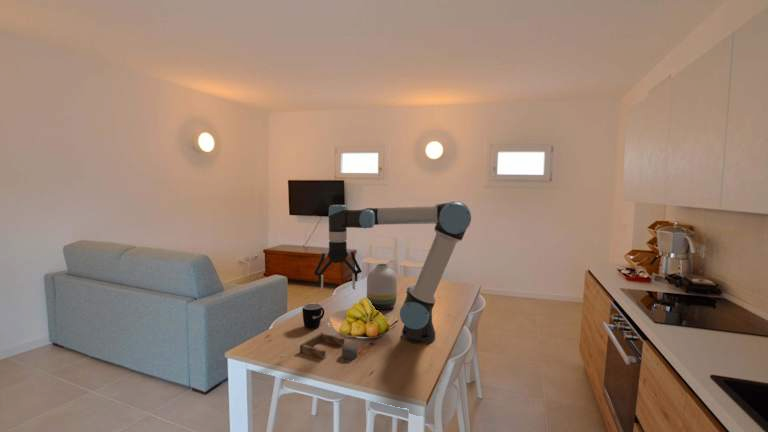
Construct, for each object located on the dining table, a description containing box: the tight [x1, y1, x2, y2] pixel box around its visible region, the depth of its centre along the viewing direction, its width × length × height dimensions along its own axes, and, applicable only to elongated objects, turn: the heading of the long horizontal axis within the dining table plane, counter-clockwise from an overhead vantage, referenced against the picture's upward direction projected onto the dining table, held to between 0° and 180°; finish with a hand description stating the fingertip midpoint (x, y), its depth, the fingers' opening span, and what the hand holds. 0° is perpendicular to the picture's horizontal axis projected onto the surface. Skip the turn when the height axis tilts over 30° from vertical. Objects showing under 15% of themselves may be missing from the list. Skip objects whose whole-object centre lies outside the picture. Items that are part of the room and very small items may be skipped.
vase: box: [366, 263, 398, 310], centre depth 202 cm, size 17×17×24 cm
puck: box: [341, 344, 358, 361], centre depth 143 cm, size 6×6×4 cm
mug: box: [302, 302, 325, 330], centre depth 172 cm, size 12×9×10 cm
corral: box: [299, 332, 345, 360], centre depth 149 cm, size 12×14×3 cm
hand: (338, 289), depth 155 cm, fingers open, 13 cm apart
